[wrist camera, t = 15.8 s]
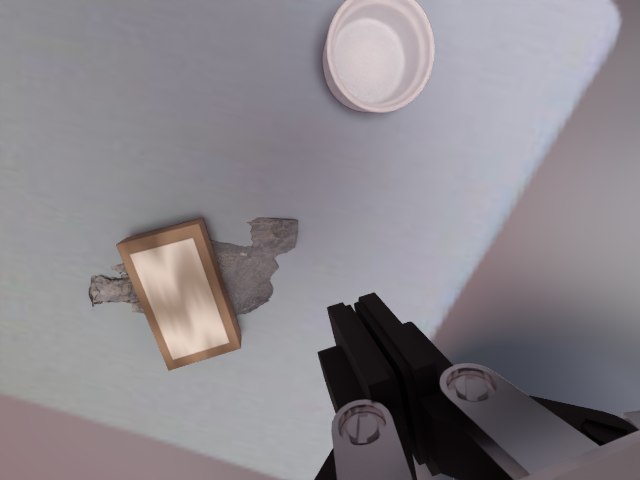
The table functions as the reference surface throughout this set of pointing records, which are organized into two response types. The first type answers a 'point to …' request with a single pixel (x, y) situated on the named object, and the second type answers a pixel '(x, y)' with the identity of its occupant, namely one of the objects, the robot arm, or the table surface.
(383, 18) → the ramekin
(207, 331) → the brown wooden block
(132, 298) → the stone slab
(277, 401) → the table surface
